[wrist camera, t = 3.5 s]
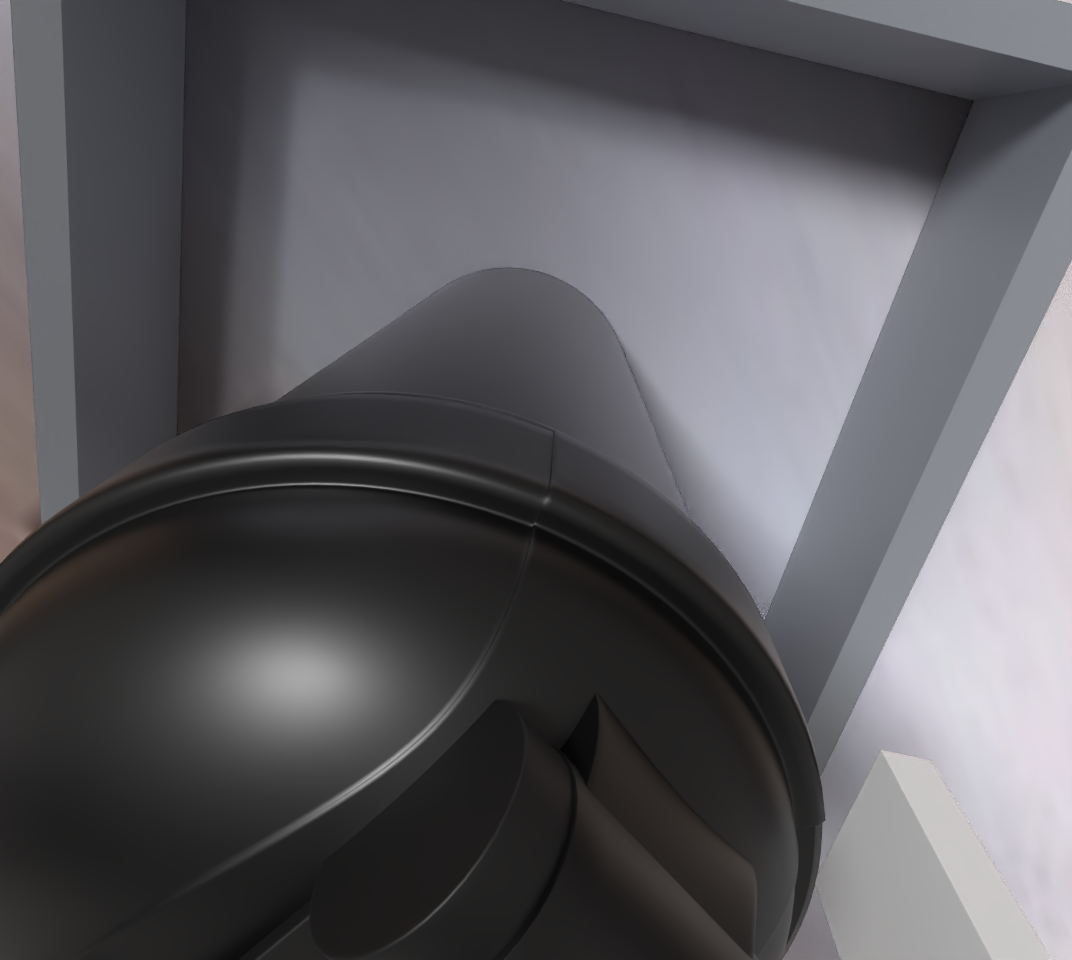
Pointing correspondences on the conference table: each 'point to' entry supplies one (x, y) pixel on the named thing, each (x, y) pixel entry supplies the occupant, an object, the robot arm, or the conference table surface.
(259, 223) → the conference table surface
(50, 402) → the grey bin
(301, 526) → the water bottle
